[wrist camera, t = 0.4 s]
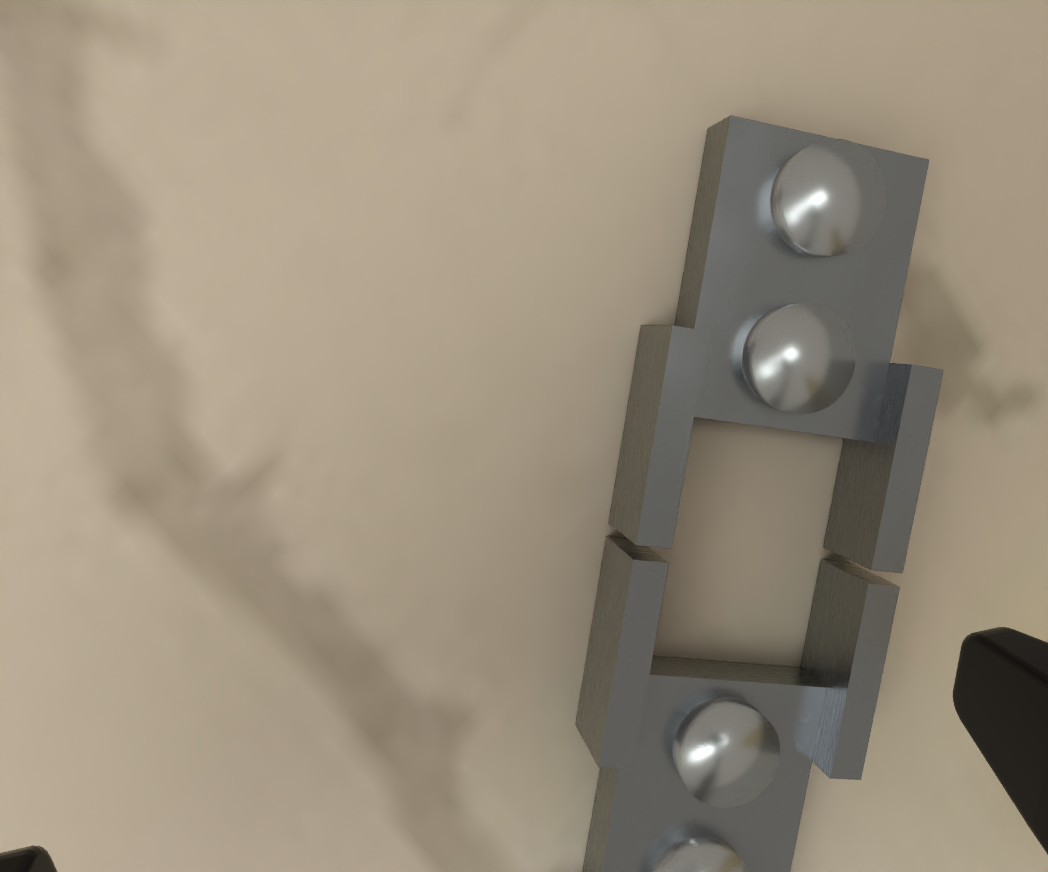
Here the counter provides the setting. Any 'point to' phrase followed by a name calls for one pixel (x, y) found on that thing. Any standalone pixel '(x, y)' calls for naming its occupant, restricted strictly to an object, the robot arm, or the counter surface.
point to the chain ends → (855, 517)
